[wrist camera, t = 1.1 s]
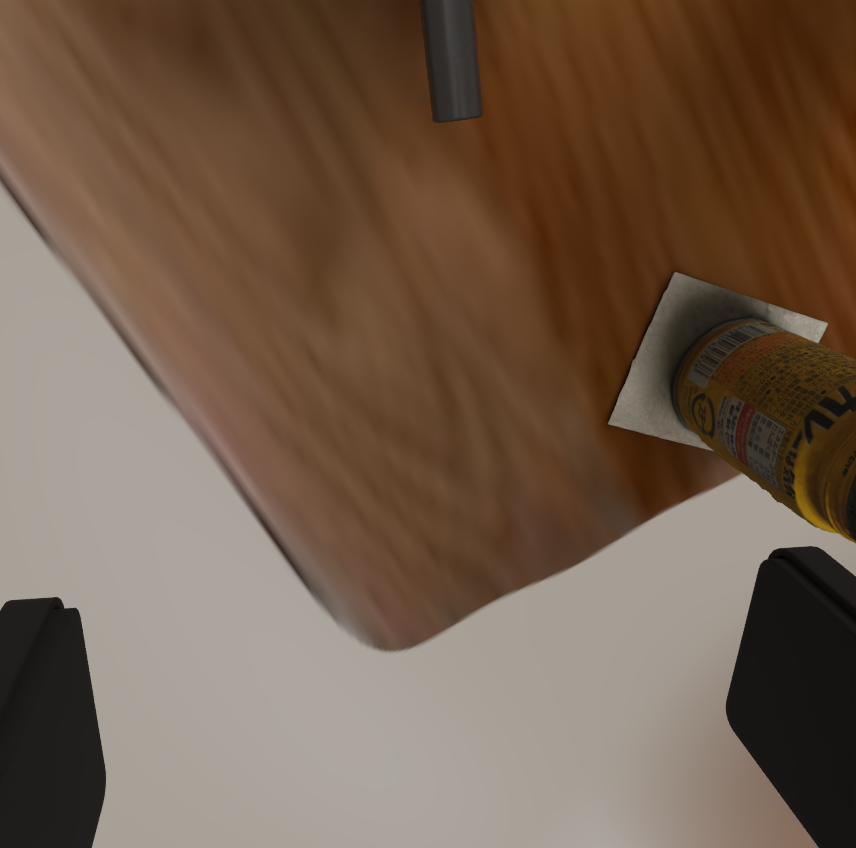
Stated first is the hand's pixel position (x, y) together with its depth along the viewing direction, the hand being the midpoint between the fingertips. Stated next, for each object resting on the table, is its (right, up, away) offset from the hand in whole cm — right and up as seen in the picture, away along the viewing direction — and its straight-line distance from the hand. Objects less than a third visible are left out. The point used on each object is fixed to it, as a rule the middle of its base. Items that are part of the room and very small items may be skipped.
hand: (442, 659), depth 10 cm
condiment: (+13, +6, +24) cm, 28 cm away
